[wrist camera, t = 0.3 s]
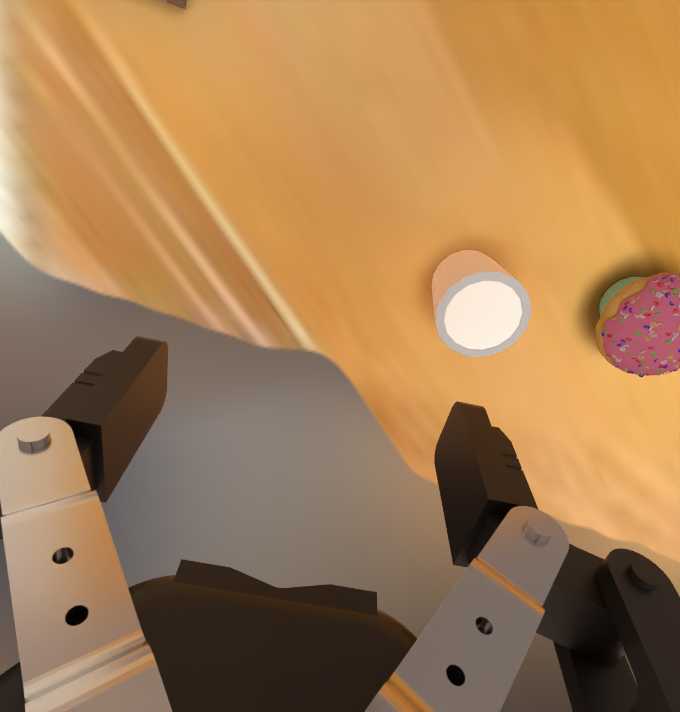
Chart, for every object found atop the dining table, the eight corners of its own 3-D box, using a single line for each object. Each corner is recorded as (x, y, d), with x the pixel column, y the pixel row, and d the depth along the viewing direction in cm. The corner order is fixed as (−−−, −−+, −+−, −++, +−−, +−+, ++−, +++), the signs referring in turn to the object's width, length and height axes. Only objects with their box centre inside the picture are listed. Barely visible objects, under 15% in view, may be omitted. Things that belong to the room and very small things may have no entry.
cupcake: (604, 245, 38) (695, 306, 28) (702, 265, 39) (827, 332, 29) (560, 337, 43) (625, 420, 32) (649, 354, 43) (741, 440, 33)
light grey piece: (422, 247, 39) (433, 278, 33) (507, 237, 38) (535, 266, 32) (425, 322, 42) (436, 362, 36) (504, 314, 42) (529, 353, 36)
